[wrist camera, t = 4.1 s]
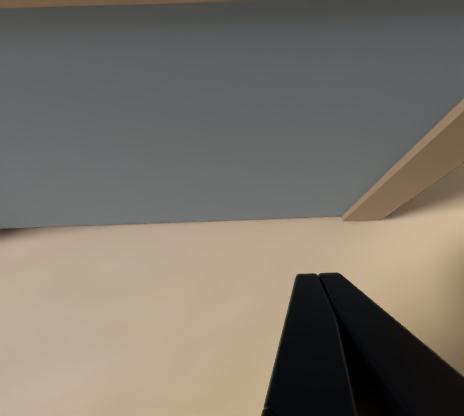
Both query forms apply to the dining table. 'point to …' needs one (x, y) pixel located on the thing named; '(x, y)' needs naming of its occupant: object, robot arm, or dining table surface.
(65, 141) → the gate
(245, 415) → the dining table surface
